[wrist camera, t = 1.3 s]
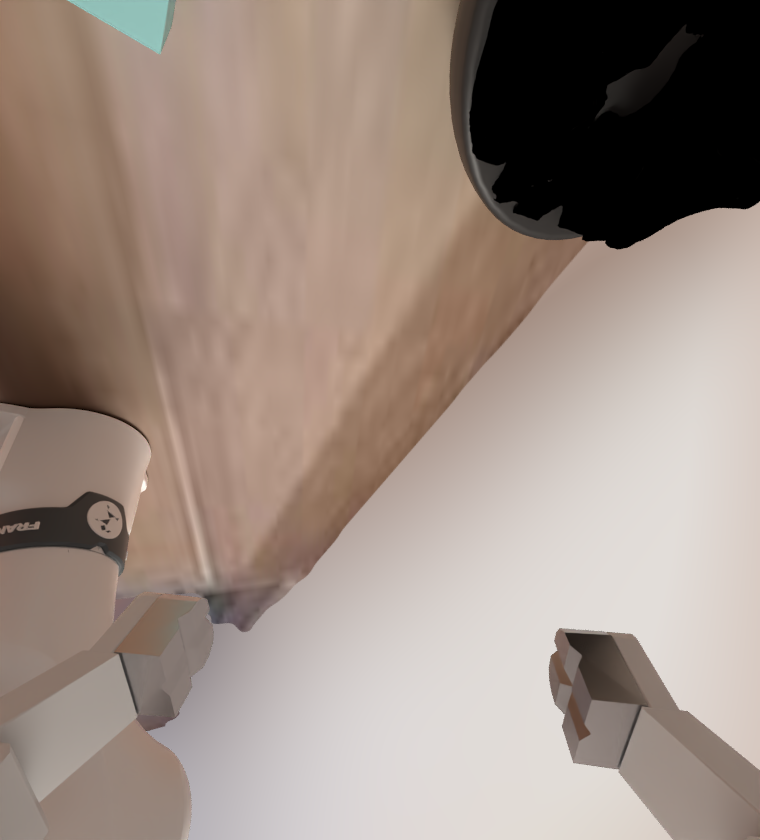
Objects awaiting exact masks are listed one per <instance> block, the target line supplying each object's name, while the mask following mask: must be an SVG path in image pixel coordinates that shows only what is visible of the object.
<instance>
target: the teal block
mask: <svg viewBox="0 0 760 840" xmlns="http://www.w3.org/2000/svg"><path fill="white" fill-rule="evenodd" d="M68 1H69V2H71V3H73V4H74V5H76V6H78V7H80V8H81V9H83V10H85V11H86V12H88V13H90V14H92V15H93V16H95V17H97V18H98V19H100V20H102V21H104V22H105V23H107V24H109V25H110V26H112V27H114V28H115V29H117V30H119V31H121V32H122V33H124V34H126V35H127V36H129V37H131V38H133V39H134V40H136V41H138V42H139V43H141V44H143V45H145V46H146V47H148V48H150V49H151V50H153V51H155V52H156V53H158V54H161V51H162V49H163V46H164V44H165V41H166V39H167V36H168V34H169V31H170V29H171V26H172V20H173V14H174V8H175V2H176V0H68Z"/></svg>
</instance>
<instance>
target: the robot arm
mask: <svg viewBox="0 0 760 840" xmlns="http://www.w3.org/2000/svg"><path fill="white" fill-rule="evenodd" d="M150 459H151V449H150V446H149V444H148V442H147V440H146V439H145V438H144V437H143V436H142V435H141V434H140V433H139V432H138V431H137V430H135V429H134V428H133V427H131V426H129V425H128V424H126V423H124V422H122V421H120V420H117V419H115V418H112V417H109V416H106V415H103V414H99V413H95V412H91V411H85V410H78V409H67V408H45V409H35V408H26V407H21V406H16V405H10V404H4V403H0V840H188V835H189V829H190V823H191V793H190V786H189V782H188V778H187V776H186V773H185V771H184V768H183V766H182V764H181V763H180V761H179V759H178V758H177V756H176V755H175V754H174V753H173V752H172V751H171V750H170V749H169V748H167V747H165V746H164V745H162V744H161V743H159V742H157V741H156V740H155V739H154V738H152V736H150V735H149V734H148V733H147V732H146V731H145V730H144V729H143V727H142V726H141V725H140V724H139V723H138V722H137V720H136V718H137V714H139V715H152V716H164V717H176V715H177V714H178V712H179V710H180V708H181V706H182V704H183V703H184V701H185V699H186V697H187V696H188V694H189V692H190V690H191V688H192V683H191V676H193V675H194V674H195V673H197V672H198V671H199V670H200V669H202V668H203V666H204V665H205V663H206V661H207V659H208V657H209V654H210V650H211V647H212V644H213V633H214V632H213V626H212V624H211V623H210V622H209V620H208V619H207V618H206V615H207V614H208V612H209V610H210V609H209V605H208V601H207V599H204V598H198V597H190V596H181V595H172V594H161V593H152V592H144V593H142V594H140V595H138V596H137V597H136V598H135V599H134V600H133V601H132V603H131V604H130V605H129V606H128V607H127V608H126V609H125V610H124V612H123V613H122V614H121V615H120V616H119V617H118V619H117V620H116V621H115V622H114V623H113V620H114V607H115V597H116V589H117V581H118V577H119V576H120V575H121V573H122V572H123V570H124V565H125V560H127V555H128V552H127V548H128V540H129V534H130V532H131V529H132V525H133V521H134V517H135V513H136V509H137V505H138V501H139V497H140V493H141V492H142V491H144V490H145V489H146V488H147V484H148V477H147V474H146V469H147V467H148V464H149V462H150ZM554 641H555V644H556V647H557V650H558V651H556V652H555V653H554V654H552V655H551V659H550V664H549V679H550V680H549V681H550V686H551V692H552V695H553V699H554V702H555V705H556V706H557V707H558V708H559V709H560V710H561V711H562V712H563V713H564V714H565V717H564V721H563V725H562V728H563V731H564V734H565V737H566V740H567V744H568V747H569V750H570V753H571V756H572V760H573V763H578V764H585V765H591V766H598V767H605V768H612V769H619V773H620V774H621V776H622V777H623V778H624V779H625V781H626V782H627V783H628V784H629V786H630V787H631V788H632V789H633V791H634V792H635V793H636V794H637V796H638V797H639V798H640V799H641V801H642V802H643V803H644V804H645V805H646V807H647V808H648V809H649V810H650V812H651V813H652V814H653V815H654V817H655V818H656V819H657V820H658V822H659V823H660V824H661V825H662V826H663V828H664V829H665V830H666V831H667V833H668V834H669V835H670V836H671V838H672V839H673V840H760V770H759V769H757V768H756V767H755V766H754V765H752V764H751V763H750V762H749V761H748V760H746V759H745V758H744V757H743V756H741V755H740V754H739V753H738V752H737V751H735V750H734V749H733V748H732V747H731V746H729V745H728V744H727V743H726V742H724V741H723V740H722V739H721V738H720V737H718V736H717V735H716V734H714V733H713V732H712V731H711V730H710V729H708V728H707V727H706V726H705V725H704V724H702V723H701V722H700V721H699V720H698V719H696V718H695V717H694V716H693V715H691V714H690V713H689V712H688V711H681V710H679V709H678V707H677V705H676V703H675V702H674V700H673V699H672V697H671V695H670V693H669V692H668V690H667V688H666V687H665V685H664V683H663V682H662V680H661V678H660V677H659V675H658V673H657V672H656V670H655V668H654V667H653V665H652V664H651V662H650V660H649V658H648V657H647V655H646V654H645V652H644V650H643V648H642V647H641V645H640V643H639V642H638V640H637V639H636V637H634V636H633V635H632V634H625V633H612V632H602V631H589V630H575V629H562V628H560V629H559V630H558V631H557V632H556V636H555V640H554Z"/></svg>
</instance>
